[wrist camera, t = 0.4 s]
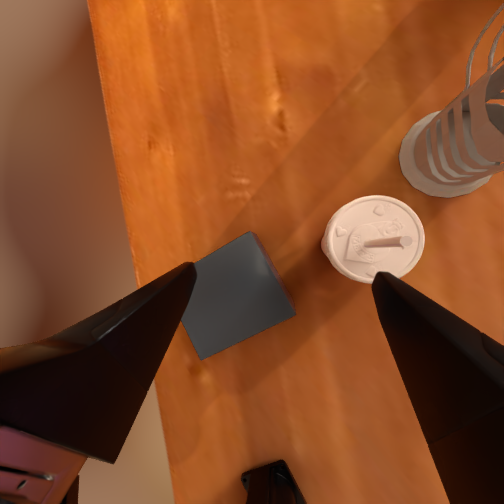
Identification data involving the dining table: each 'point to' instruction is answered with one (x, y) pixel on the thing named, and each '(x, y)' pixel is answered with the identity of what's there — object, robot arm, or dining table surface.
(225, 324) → the grey footed stand
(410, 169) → the french press
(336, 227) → the smoothie
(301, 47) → the dining table surface
